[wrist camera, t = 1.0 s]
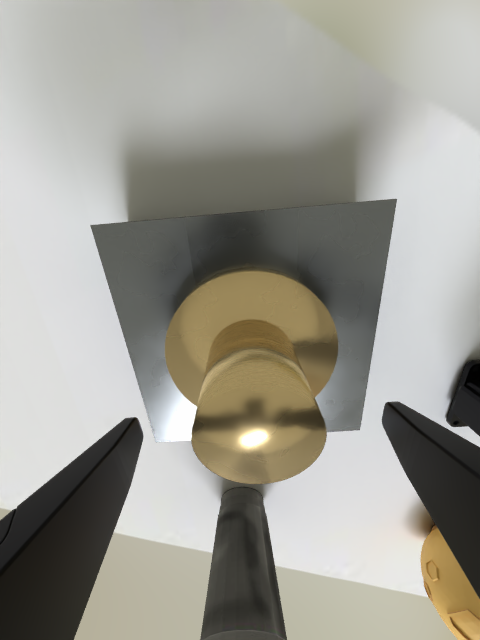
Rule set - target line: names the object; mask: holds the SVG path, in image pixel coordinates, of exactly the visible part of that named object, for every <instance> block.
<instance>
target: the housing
mask: <svg viewBox="0 0 480 640" xmlns="http://www.w3.org/2000/svg"><path fill="white" fill-rule="evenodd" d="M396 202H397V199H389V200H377V201H366V202H354V203H342V204H331V205H319V206H308V207H296V208H284V209H273V210H261V211H250V212H238V213H227V214H215V215H203V216H192V217H180V218H169V219H157V220H146V221H134V222H122V223H111V224H99V225H90V226H91V229H92V232H93V235H94V239H95V242H96V245H97V249H98V252H99V255H100V259H101V262H102V265H103V269H104V272H105V275H106V279H107V282H108V285H109V289H110V292H111V295H112V298H113V302H114V305H115V308H116V312H117V315H118V318H119V322H120V325H121V328H122V332H123V335H124V338H125V342H126V345H127V348H128V352H129V355H130V358H131V361H132V365H133V368H134V371H135V375H136V378H137V381H138V385H139V388H140V391H141V395H142V398H143V401H144V405H145V408H146V411H147V415H148V418H149V421H150V424H151V428H152V431H153V434H154V438H155V441H156V442H168V441H185V440H191V431H192V426H193V422H194V418H195V413H196V409H197V407H196V406H195V405H194V404H192V403H191V402H190V401H189V400H188V399H187V398H185V397H184V395H183V394H182V393H181V392H180V391H179V390H178V388H177V387H176V385H175V383H174V382H173V380H172V378H171V376H170V374H169V371H168V368H167V364H166V358H165V340H166V334H167V330H168V327H169V324H170V322H171V320H172V318H173V316H174V314H175V312H176V311H177V310H178V308H179V307H180V305H181V304H182V302H183V301H184V300H185V298H186V297H187V296H188V295H189V294H190V293H191V292H192V290H193V289H195V288H196V287H197V286H198V285H200V284H201V283H202V282H204V281H206V280H207V279H209V278H210V277H212V276H215V275H217V274H219V273H222V272H225V271H228V270H232V269H238V268H245V267H258V268H267V269H271V270H275V271H279V272H282V273H284V274H287V275H289V276H291V277H293V278H295V279H296V280H298V281H300V282H301V283H302V284H304V285H305V286H306V287H307V288H308V289H310V290H311V291H312V292H313V293H314V294H315V295H316V296H317V297H318V298H319V300H320V301H321V302H322V303H323V304H324V305H325V307H326V308H327V310H328V311H329V313H330V315H331V317H332V319H333V321H334V324H335V327H336V331H337V336H338V356H337V361H336V365H335V368H334V371H333V373H332V375H331V377H330V379H329V381H328V382H327V384H326V385H325V387H324V388H323V389H322V391H321V392H320V393H319V394H318V395H317V396H316V397H315V400H316V402H317V404H318V407H319V409H320V411H321V414H322V416H323V418H324V421H325V424H326V430H327V432H335V431H352V430H360V426H361V420H362V414H363V407H364V401H365V395H366V389H367V382H368V376H369V370H370V364H371V357H372V351H373V345H374V339H375V333H376V326H377V320H378V314H379V308H380V301H381V295H382V289H383V283H384V277H385V270H386V264H387V258H388V252H389V245H390V239H391V233H392V227H393V221H394V214H395V208H396Z"/></svg>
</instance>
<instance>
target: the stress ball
mask: <svg viewBox="0 0 480 640" xmlns="http://www.w3.org/2000/svg"><path fill="white" fill-rule="evenodd" d="M421 570H422V575H423V579H424V587H425V590H426V592H427V595H428V597H429V598H430V600H431V601H432V603H433V605H434V606H435V608H436V610H437V611H438V613H439V615H440V617H441V618H442V619H443V621H444V622H445V624H446V625H447V626H448V628H449V629H450V630H451V632H452V633H453V634H454V635H455V636H456V638H457V639H458V640H480V599H479V597H478V596H477V594H476V592H475V591H474V589H473V587H472V585H471V584H470V582H469V580H468V579H467V577H466V575H465V574H464V572H463V570H462V568H461V567H460V565H459V563H458V562H457V560H456V558H455V557H454V555H453V553H452V551H451V550H450V548H449V546H448V545H447V543H446V541H445V540H444V538H443V536H442V534H441V533H440V531H439V529H438V528H437V526H436V525H434V526H433V527H432V529H431V533H430V534H429V535H428V536H427V538H426V539H425V541H424V544H423V546H422V551H421Z"/></svg>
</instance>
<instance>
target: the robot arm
mask: <svg viewBox="0 0 480 640" xmlns="http://www.w3.org/2000/svg"><path fill="white" fill-rule="evenodd" d="M446 421H447V423H448V424H450V425H451V426H452V427H462V426H469V427H470V428H471V429H472V430H473V431H474V432H475V433H476V434H478V435H479V436H480V360H476V361H470V362H468V363H467V364H466V365H465V368H464V370H463V373H462V376H461V379H460V382H459V385H458V388H457V391H456V394H455V396H454V399H453V402H452V405H451V408H450V411H449V414H448V417H447V420H446ZM382 424H383V427H384V429H385V431H386V434H387V436H388V438H389V440H390V442H391V444H392V446H393V448H394V451H395V453H396V455H397V457H398V459H399V461H400V463H401V465H402V467H403V469H404V471H405V473H406V475H407V477H408V478H409V480H410V482H411V483H412V485H413V487H414V489H415V490H416V492H417V494H418V495H419V497H420V499H421V500H422V502H423V504H424V506H425V507H426V509H427V511H428V512H429V514H430V516H431V517H432V519H433V521H434V523H435V524H436V526H437V528H438V529H439V531H440V533H441V534H442V536H443V538H444V540H445V541H446V543H447V545H448V546H449V548H450V550H451V551H452V553H453V555H454V557H455V558H456V560H457V562H458V563H459V565H460V567H461V568H462V570H463V572H464V574H465V575H466V577H467V579H468V580H469V582H470V584H471V585H472V587H473V589H474V591H475V592H476V594H477V596H478V597H479V599H480V447H478V446H476V445H475V444H473V443H471V442H469V441H468V440H466V439H464V438H462V437H460V436H459V435H457V434H455V433H453V432H452V431H450V430H448V429H446V428H445V427H443V426H441V425H439V424H438V423H436V422H434V421H432V420H430V419H429V418H427V417H425V416H423V415H422V414H420V413H418V412H416V411H415V410H413V409H411V408H409V407H407V406H406V405H404V404H402V403H400V402H387V403H386V404H385V406H384V411H383V416H382ZM142 442H143V432H142V429H141V425H140V422H139V420H138V418H136V417H133V418H125V419H124V420H123V421H121V422H120V423H119V424H118V425H116V426H115V427H114V428H113V429H112V430H110V431H109V432H108V433H107V434H105V435H104V436H103V437H102V438H100V439H99V440H98V441H97V442H96V443H94V444H93V445H92V446H91V447H89V448H88V449H87V450H86V451H85V452H83V453H82V454H81V455H80V456H78V457H77V458H76V459H75V460H74V461H72V462H71V463H70V464H69V465H67V466H66V467H65V468H64V469H63V470H61V471H60V472H59V473H58V474H56V475H55V476H54V477H53V478H52V479H50V480H49V481H48V482H47V483H45V484H44V485H43V486H42V487H41V488H39V489H38V490H37V491H36V492H34V493H33V494H32V495H31V496H29V497H28V498H27V499H26V500H25V501H23V502H22V503H21V504H20V505H18V506H17V509H13V510H12V511H11V512H10V513H9V514H8V515H6V516H5V517H4V518H3V519H1V520H0V640H74V637H75V635H76V632H77V629H78V627H79V624H80V621H81V619H82V616H83V613H84V610H85V608H86V605H87V602H88V600H89V597H90V594H91V591H92V589H93V586H94V583H95V581H96V578H97V575H98V573H99V570H100V567H101V564H102V562H103V559H104V556H105V554H106V551H107V548H108V545H109V543H110V540H111V537H112V535H113V532H114V529H115V527H116V524H117V521H118V518H119V516H120V513H121V510H122V508H123V505H124V502H125V500H126V497H127V494H128V491H129V488H130V486H131V482H132V479H133V475H134V472H135V468H136V464H137V460H138V457H139V453H140V449H141V445H142Z"/></svg>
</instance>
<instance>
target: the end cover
mask: <svg viewBox="0 0 480 640" xmlns="http://www.w3.org/2000/svg"><path fill="white" fill-rule="evenodd" d="M337 356H338V336H337V331H336V327H335V324H334V321H333V319H332V317H331V315H330V313H329V311H328V310H327V308H326V307H325V305H324V304H323V303H322V302H321V301H320V300H319V298H318V297H317V296H316V295H315V294H314V293H313V292H312V291H311V290H310V289H308V288H307V287H306V286H305V285H304V284H302V283H301V282H300V281H298V280H296V279H295V278H293V277H291V276H289V275H287V274H284V273H282V272H279V271H275V270H271V269H267V268H258V267H245V268H238V269H232V270H228V271H225V272H222V273H219V274H217V275H215V276H212V277H210V278H209V279H207V280H206V281H204V282H202V283H201V284H200V285H198V286H197V287H196V288H195V289H193V290H192V292H191V293H190V294H189V295H188V296H187V297H186V298H185V300H184V301H183V302H182V304H181V305H180V307H179V308H178V310H177V311H176V312H175V314H174V316H173V318H172V320H171V322H170V324H169V327H168V330H167V334H166V340H165V358H166V364H167V368H168V371H169V374H170V376H171V378H172V380H173V382H174V383H175V385H176V387H177V388H178V390H179V391H180V392H181V393H182V394H183V395H184V397H185V398H187V399H188V400H189V401H190V402H191V403H192V404H194V405H195V406H196V407H197V409H196V413H195V418H194V422H193V426H192V431H191V441H192V446H193V449H194V452H195V454H196V456H197V457H198V459H199V460H200V461H201V462H202V463H203V464H204V466H205V467H207V468H208V469H209V470H210V471H212V472H214V473H215V474H217V475H219V476H221V477H223V478H226V479H228V480H231V481H235V482H240V483H246V484H267V483H273V482H278V481H282V480H285V479H288V478H291V477H293V476H295V475H297V474H299V473H301V472H302V471H304V470H305V469H307V468H308V467H309V466H310V465H311V464H312V463H313V462H314V461H315V460H316V459H317V458H318V457H319V455H320V454H321V452H322V450H323V448H324V445H325V442H326V436H327V430H326V424H325V421H324V418H323V416H322V414H321V411H320V409H319V407H318V404H317V402H316V400H315V397H316V396H317V395H318V394H319V393H320V392H321V391H322V389H323V388H324V387H325V385H326V384H327V382H328V381H329V379H330V377H331V375H332V373H333V371H334V368H335V365H336V361H337Z"/></svg>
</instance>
